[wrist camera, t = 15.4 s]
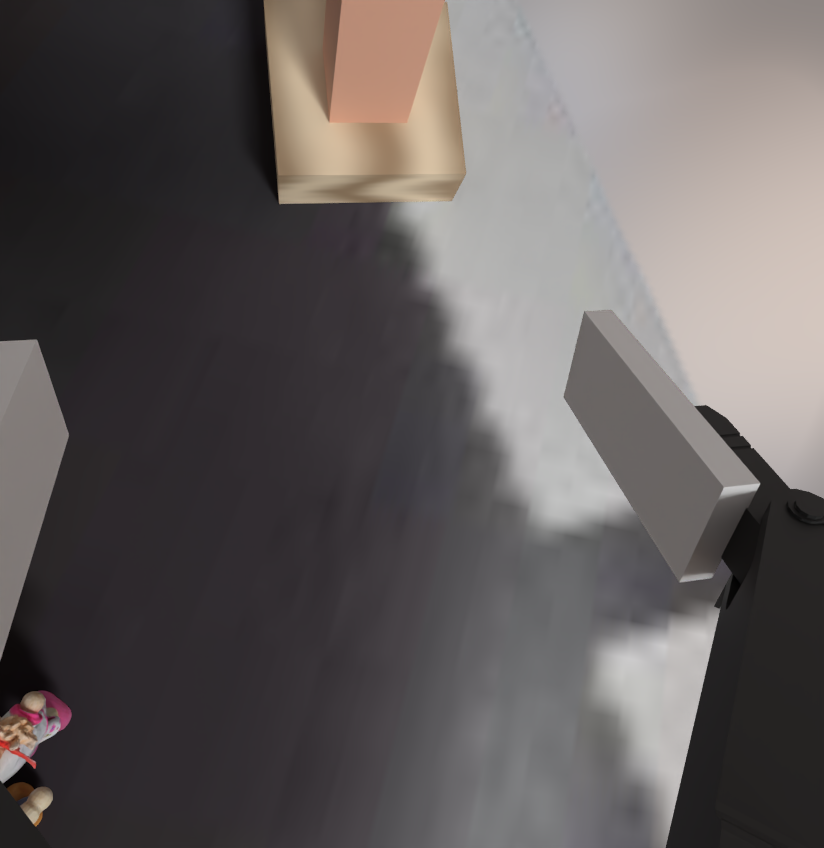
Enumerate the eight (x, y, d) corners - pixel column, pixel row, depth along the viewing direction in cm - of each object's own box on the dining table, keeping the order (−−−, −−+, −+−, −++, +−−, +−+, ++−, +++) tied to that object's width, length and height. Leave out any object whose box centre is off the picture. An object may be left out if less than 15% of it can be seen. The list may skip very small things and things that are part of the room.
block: (329, 122, 43) (342, -7, 32) (322, 48, 43) (333, -104, 32) (407, 122, 44) (445, -3, 33) (399, 50, 44) (435, -97, 33)
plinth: (279, 203, 46) (278, 175, 42) (265, 37, 47) (263, -5, 43) (451, 200, 48) (466, 173, 44) (434, 42, 49) (447, 2, 45)
